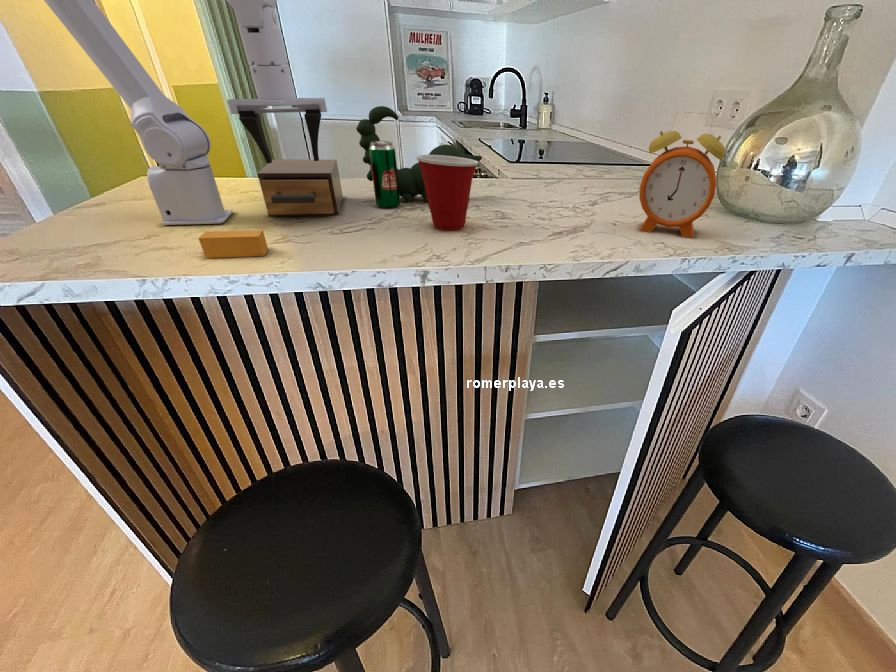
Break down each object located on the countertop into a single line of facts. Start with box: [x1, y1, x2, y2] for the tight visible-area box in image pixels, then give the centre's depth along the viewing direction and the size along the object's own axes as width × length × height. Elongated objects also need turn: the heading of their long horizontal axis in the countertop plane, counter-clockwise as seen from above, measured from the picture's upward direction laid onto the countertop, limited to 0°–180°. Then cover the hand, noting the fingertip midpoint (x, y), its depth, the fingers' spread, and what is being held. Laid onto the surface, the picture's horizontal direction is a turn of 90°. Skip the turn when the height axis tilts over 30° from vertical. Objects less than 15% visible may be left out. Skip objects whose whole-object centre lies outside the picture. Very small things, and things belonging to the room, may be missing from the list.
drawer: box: [259, 178, 334, 216], centre depth 86 cm, size 18×11×6 cm, turn 14°
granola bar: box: [198, 229, 269, 259], centre depth 67 cm, size 8×3×3 cm, turn 104°
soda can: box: [369, 140, 401, 209], centre depth 91 cm, size 5×5×12 cm
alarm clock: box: [638, 111, 727, 239], centre depth 82 cm, size 13×6×20 cm, turn 70°
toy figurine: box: [355, 105, 483, 203], centre depth 95 cm, size 9×19×25 cm
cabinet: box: [256, 158, 344, 218], centre depth 90 cm, size 15×13×8 cm
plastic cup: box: [415, 154, 480, 232], centre depth 81 cm, size 11×11×12 cm
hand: (293, 161), depth 78 cm, fingers open, 7 cm apart
